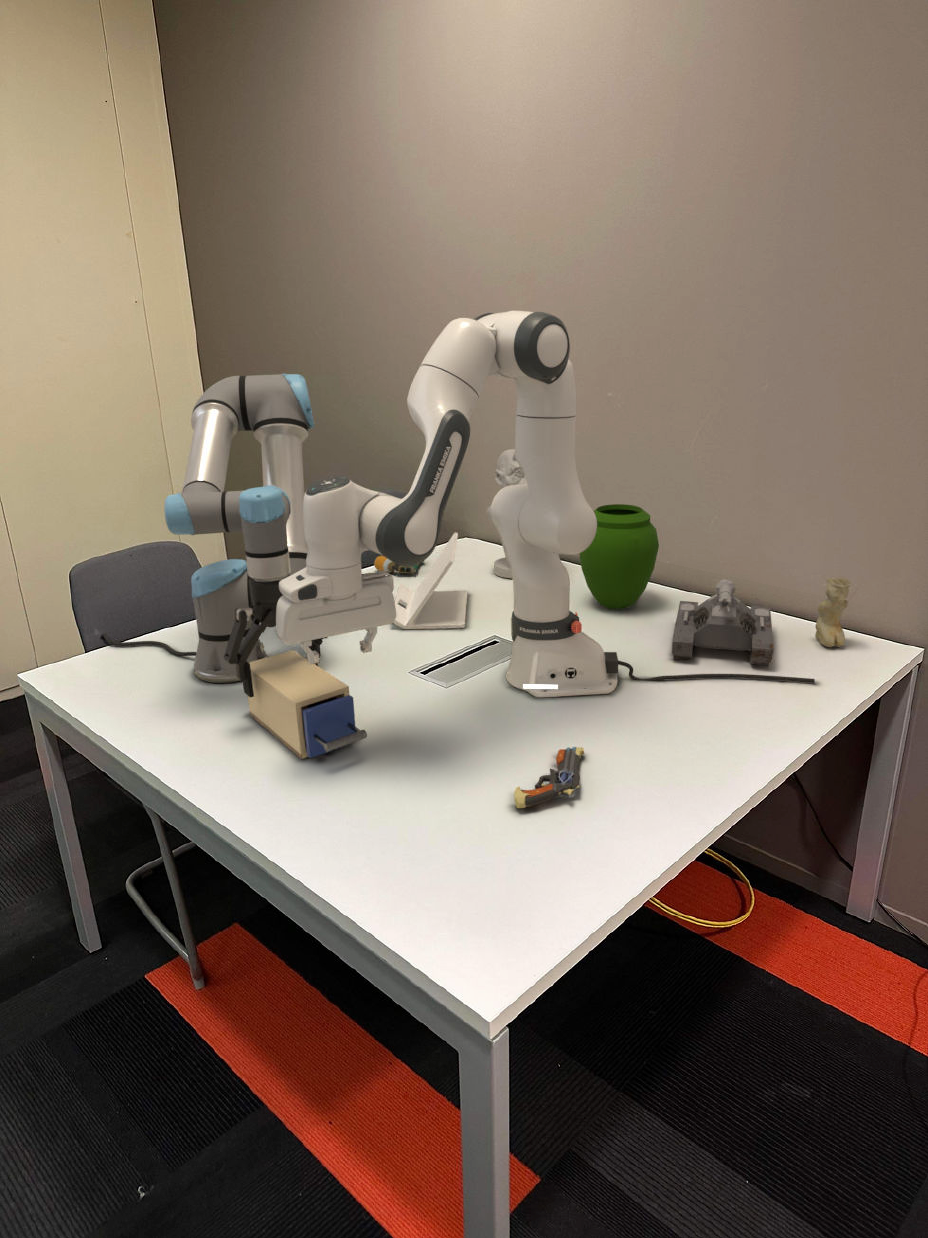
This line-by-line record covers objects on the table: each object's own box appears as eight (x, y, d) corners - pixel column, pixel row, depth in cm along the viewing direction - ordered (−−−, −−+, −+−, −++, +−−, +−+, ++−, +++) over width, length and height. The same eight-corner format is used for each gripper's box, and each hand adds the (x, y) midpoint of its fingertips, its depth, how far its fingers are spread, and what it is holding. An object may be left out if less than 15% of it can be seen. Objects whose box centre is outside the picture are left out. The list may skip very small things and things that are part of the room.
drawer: (372, 753, 146) (369, 708, 143) (325, 771, 141) (320, 724, 138) (304, 702, 165) (299, 661, 162) (260, 716, 160) (255, 674, 157)
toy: (678, 620, 203) (682, 559, 197) (767, 627, 197) (774, 565, 192) (670, 662, 180) (675, 595, 175) (771, 671, 174) (778, 602, 169)
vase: (599, 587, 227) (601, 497, 218) (668, 600, 216) (673, 505, 208) (562, 608, 212) (564, 513, 204) (634, 623, 202) (639, 523, 193)
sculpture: (821, 649, 184) (830, 583, 179) (808, 637, 191) (816, 573, 185) (848, 649, 184) (858, 582, 179) (834, 636, 191) (843, 572, 185)
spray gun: (394, 559, 259) (438, 566, 253) (365, 572, 245) (411, 579, 239) (394, 546, 258) (438, 552, 252) (365, 557, 243) (411, 564, 237)
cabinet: (353, 740, 152) (348, 686, 149) (301, 759, 147) (295, 703, 143) (298, 699, 168) (293, 649, 165) (249, 715, 163) (243, 663, 159)
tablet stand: (467, 593, 225) (465, 531, 219) (465, 628, 202) (462, 559, 196) (399, 594, 226) (395, 532, 220) (388, 629, 203) (384, 560, 197)
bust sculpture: (503, 593, 225) (502, 460, 212) (483, 567, 247) (480, 445, 234) (562, 587, 228) (563, 456, 215) (536, 562, 250) (536, 441, 237)
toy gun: (511, 797, 129) (577, 795, 127) (525, 744, 147) (584, 741, 144) (513, 813, 129) (579, 812, 127) (527, 758, 147) (585, 756, 145)
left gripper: (321, 557, 162) (330, 661, 169) (194, 585, 148) (211, 696, 156) (340, 566, 156) (349, 673, 164) (211, 595, 142) (227, 710, 150)
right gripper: (384, 564, 147) (388, 639, 151) (268, 583, 137) (276, 663, 142) (400, 573, 141) (404, 650, 146) (281, 594, 132) (289, 676, 137)
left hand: (282, 684), depth 160 cm, fingers open, 12 cm apart
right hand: (340, 657), depth 144 cm, fingers open, 8 cm apart
